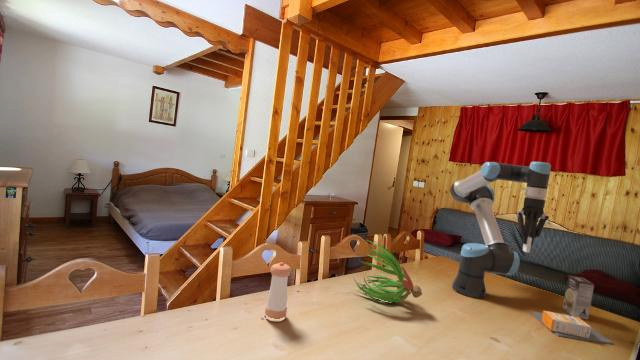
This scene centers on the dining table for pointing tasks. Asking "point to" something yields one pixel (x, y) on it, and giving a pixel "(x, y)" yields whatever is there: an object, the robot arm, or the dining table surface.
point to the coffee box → (578, 296)
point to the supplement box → (566, 324)
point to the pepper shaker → (278, 291)
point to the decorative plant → (400, 284)
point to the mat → (593, 336)
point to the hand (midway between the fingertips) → (526, 251)
